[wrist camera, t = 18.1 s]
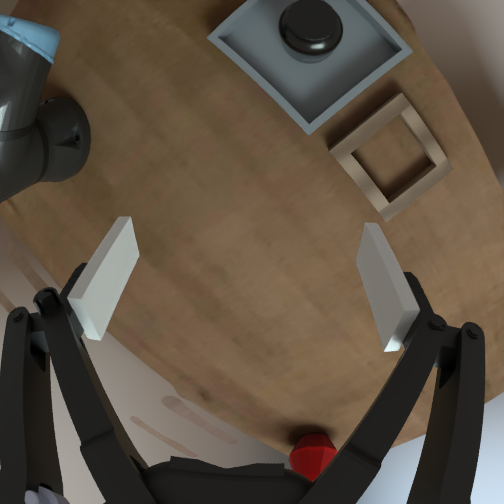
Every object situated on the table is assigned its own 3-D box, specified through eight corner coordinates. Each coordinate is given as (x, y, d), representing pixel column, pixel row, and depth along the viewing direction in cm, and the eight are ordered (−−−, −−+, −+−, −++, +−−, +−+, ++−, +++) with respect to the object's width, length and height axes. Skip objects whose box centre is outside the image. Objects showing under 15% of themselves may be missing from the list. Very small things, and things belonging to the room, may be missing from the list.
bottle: (301, 424, 71) (294, 492, 54) (348, 430, 71) (348, 496, 53) (283, 447, 79) (275, 505, 62) (325, 453, 79) (322, 510, 61)
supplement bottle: (310, 74, 35) (314, 65, 24) (271, 41, 33) (258, 20, 23) (346, 41, 32) (363, 20, 21) (306, 8, 30) (307, -24, 20)
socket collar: (328, 148, 40) (329, 151, 38) (397, 92, 35) (401, 92, 33) (383, 217, 43) (386, 222, 42) (447, 166, 38) (453, 169, 36)
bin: (214, 42, 35) (206, 37, 32) (309, -36, 27) (309, -47, 24) (308, 131, 39) (308, 135, 36) (403, 55, 32) (412, 51, 28)
